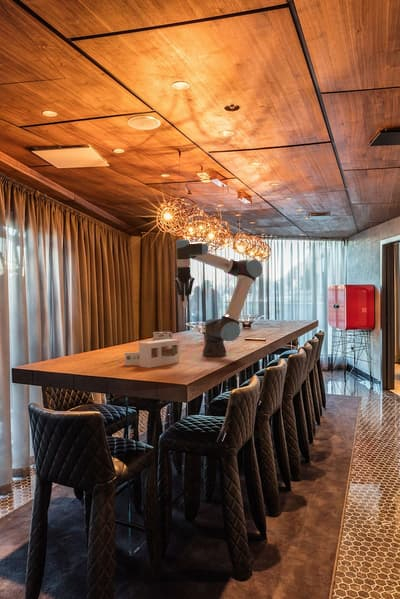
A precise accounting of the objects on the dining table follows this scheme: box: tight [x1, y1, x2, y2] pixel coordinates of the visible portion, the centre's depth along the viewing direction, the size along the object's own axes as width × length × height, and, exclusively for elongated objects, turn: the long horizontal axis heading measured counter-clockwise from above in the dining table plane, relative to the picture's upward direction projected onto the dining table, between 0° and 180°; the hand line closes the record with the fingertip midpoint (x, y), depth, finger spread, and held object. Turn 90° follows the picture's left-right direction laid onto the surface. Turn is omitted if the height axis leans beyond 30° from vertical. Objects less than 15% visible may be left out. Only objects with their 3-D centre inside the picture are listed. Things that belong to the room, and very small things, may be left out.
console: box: [138, 338, 180, 369], centre depth 260 cm, size 24×8×13 cm, turn 141°
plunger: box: [151, 348, 157, 357], centre depth 254 cm, size 4×9×4 cm, turn 51°
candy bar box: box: [152, 331, 173, 341], centre depth 279 cm, size 11×5×16 cm, turn 76°
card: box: [124, 351, 139, 366], centre depth 257 cm, size 10×1×7 cm, turn 98°
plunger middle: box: [162, 347, 175, 357], centre depth 256 cm, size 4×9×4 cm, turn 51°
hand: (185, 306), depth 271 cm, fingers closed
